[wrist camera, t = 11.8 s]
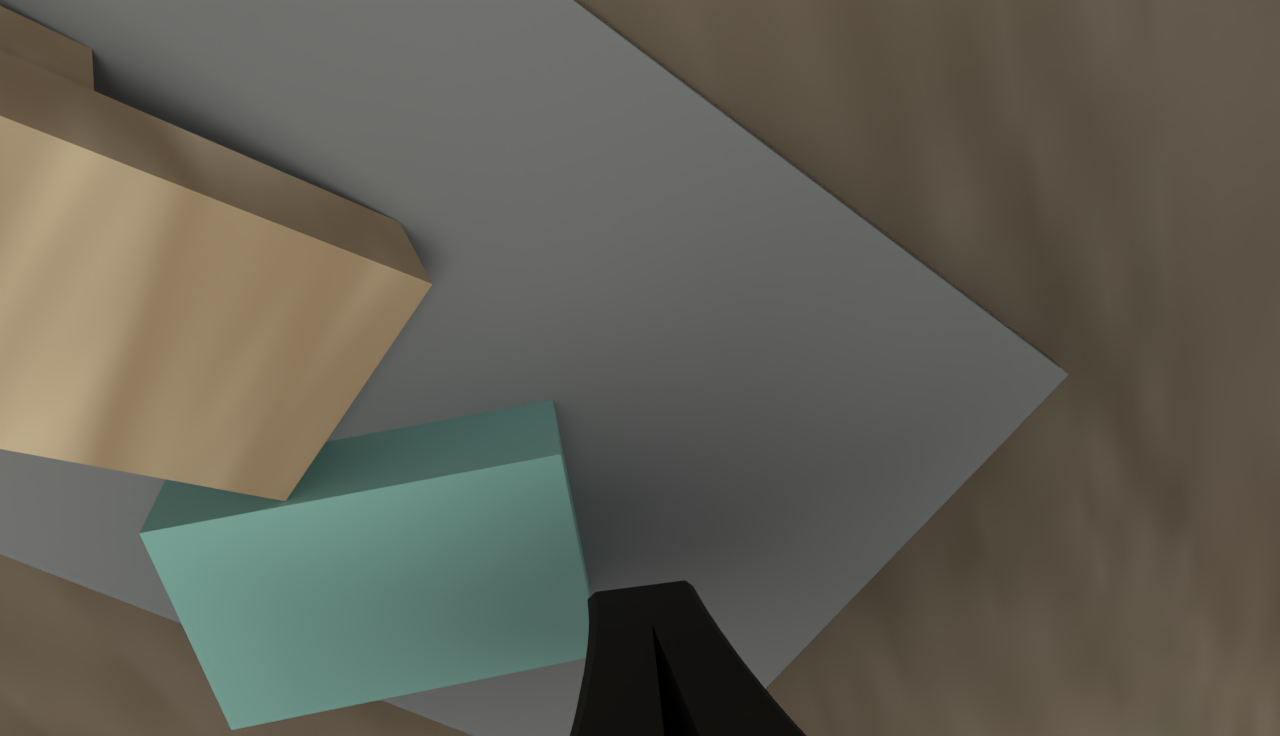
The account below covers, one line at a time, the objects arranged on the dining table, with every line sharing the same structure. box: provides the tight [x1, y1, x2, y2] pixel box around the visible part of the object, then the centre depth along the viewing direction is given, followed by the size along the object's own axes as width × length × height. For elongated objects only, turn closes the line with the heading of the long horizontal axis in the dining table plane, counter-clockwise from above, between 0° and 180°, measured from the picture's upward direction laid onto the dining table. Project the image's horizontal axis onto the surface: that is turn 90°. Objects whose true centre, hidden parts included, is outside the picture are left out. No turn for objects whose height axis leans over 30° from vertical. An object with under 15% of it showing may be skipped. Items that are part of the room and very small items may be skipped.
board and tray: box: [0, 0, 1069, 736], centre depth 16 cm, size 56×15×4 cm, turn 53°
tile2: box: [0, 51, 432, 501], centre depth 12 cm, size 2×4×6 cm
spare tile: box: [139, 400, 591, 730], centre depth 16 cm, size 2×4×6 cm
